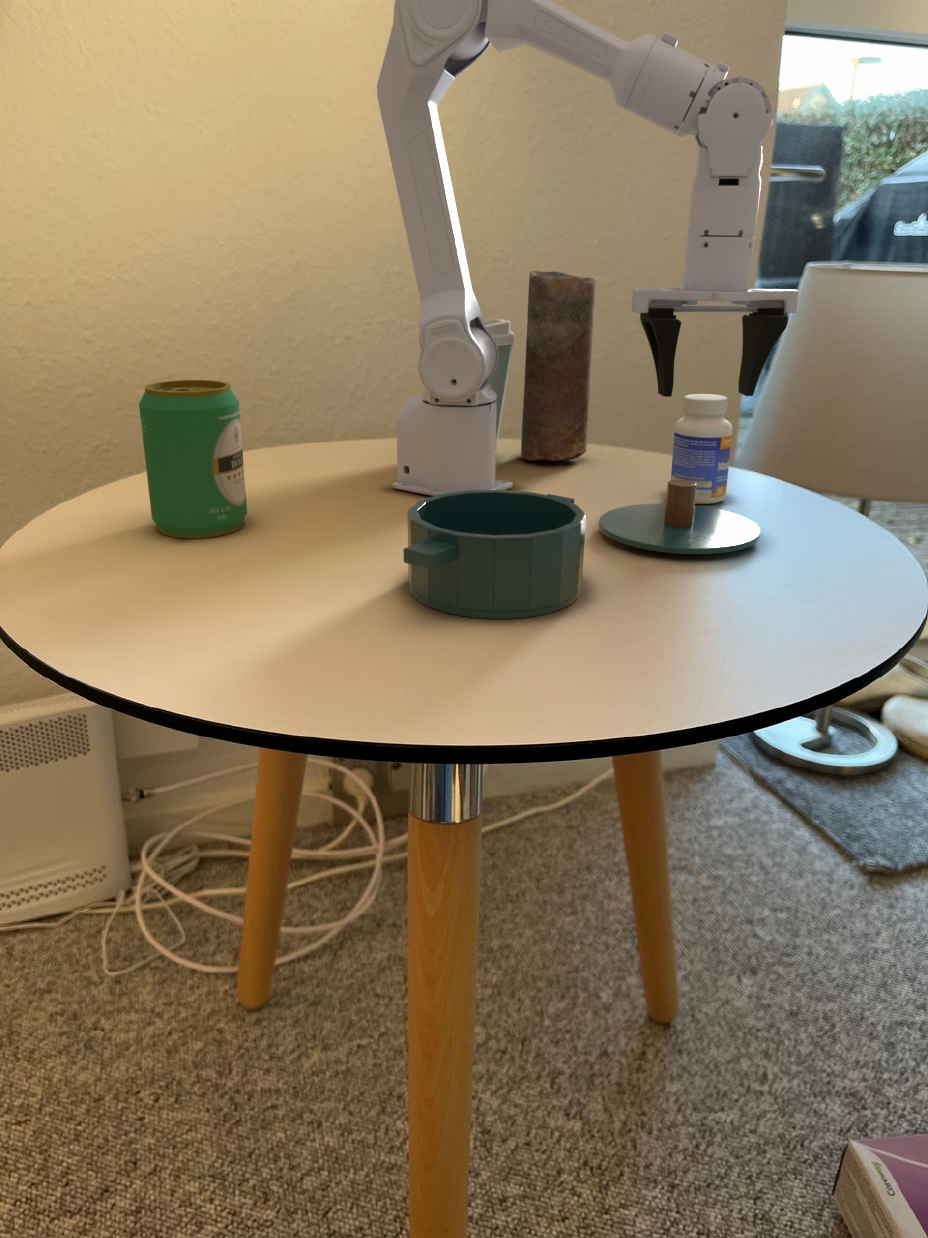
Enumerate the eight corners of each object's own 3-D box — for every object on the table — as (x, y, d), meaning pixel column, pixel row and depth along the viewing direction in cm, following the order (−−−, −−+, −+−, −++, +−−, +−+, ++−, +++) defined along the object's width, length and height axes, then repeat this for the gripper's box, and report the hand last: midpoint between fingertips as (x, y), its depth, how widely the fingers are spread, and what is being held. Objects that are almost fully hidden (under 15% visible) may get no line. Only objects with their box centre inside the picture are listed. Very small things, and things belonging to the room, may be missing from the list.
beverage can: (223, 543, 81) (210, 395, 76) (135, 535, 82) (117, 390, 78) (262, 517, 88) (253, 380, 84) (181, 511, 90) (167, 377, 85)
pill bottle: (726, 506, 93) (737, 402, 89) (668, 503, 94) (677, 400, 90) (724, 492, 98) (734, 393, 94) (668, 489, 99) (677, 391, 95)
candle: (550, 448, 116) (558, 269, 109) (600, 458, 111) (611, 271, 104) (507, 458, 111) (512, 270, 103) (557, 469, 106) (566, 273, 99)
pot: (348, 603, 68) (345, 524, 66) (494, 542, 82) (496, 475, 79) (494, 646, 61) (496, 560, 59) (628, 572, 75) (633, 500, 73)
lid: (569, 540, 82) (572, 485, 81) (642, 507, 92) (646, 457, 91) (720, 572, 75) (727, 513, 73) (782, 532, 85) (789, 479, 83)
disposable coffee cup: (421, 469, 106) (420, 324, 100) (416, 448, 116) (414, 315, 110) (519, 468, 107) (523, 324, 101) (505, 447, 116) (508, 315, 111)
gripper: (651, 236, 81) (639, 402, 86) (820, 237, 82) (799, 401, 87) (630, 235, 88) (620, 389, 93) (787, 236, 89) (769, 388, 94)
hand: (705, 394), depth 90 cm, fingers open, 7 cm apart
